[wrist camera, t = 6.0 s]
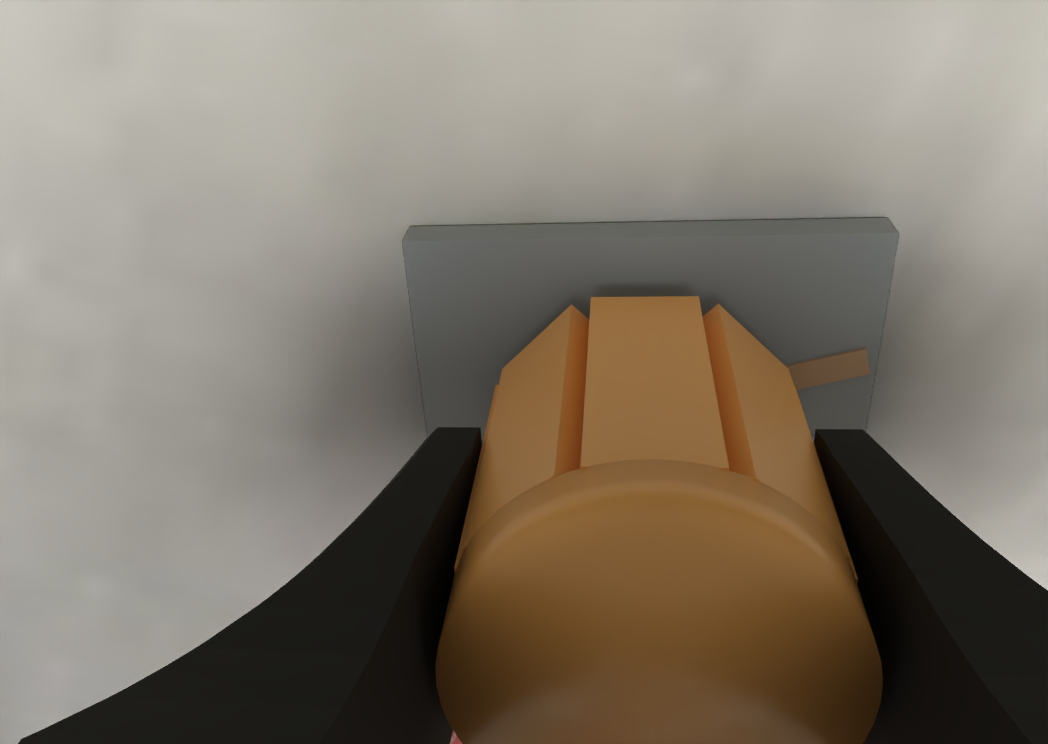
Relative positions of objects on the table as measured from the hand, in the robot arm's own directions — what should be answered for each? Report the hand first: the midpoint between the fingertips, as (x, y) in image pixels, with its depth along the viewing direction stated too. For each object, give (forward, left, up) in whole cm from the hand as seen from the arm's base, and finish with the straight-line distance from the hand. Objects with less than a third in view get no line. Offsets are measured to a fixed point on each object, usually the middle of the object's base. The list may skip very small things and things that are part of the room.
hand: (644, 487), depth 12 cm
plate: (0, 0, -3) cm, 3 cm away
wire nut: (0, 0, -1) cm, 1 cm away
